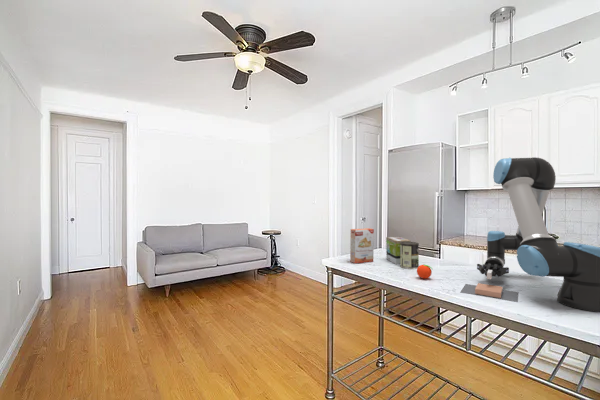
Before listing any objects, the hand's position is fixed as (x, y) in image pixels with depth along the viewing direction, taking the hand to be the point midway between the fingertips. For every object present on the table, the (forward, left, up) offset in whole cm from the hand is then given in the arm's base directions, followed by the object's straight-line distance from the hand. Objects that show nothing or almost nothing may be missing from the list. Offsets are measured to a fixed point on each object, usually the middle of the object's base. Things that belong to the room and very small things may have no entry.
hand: (489, 275), depth 128 cm
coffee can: (+42, -28, -8) cm, 51 cm away
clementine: (+28, -8, -8) cm, 30 cm away
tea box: (+52, -38, -8) cm, 65 cm away
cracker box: (+70, -24, -8) cm, 74 cm away
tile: (0, -3, -6) cm, 7 cm away
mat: (0, 0, -7) cm, 8 cm away
